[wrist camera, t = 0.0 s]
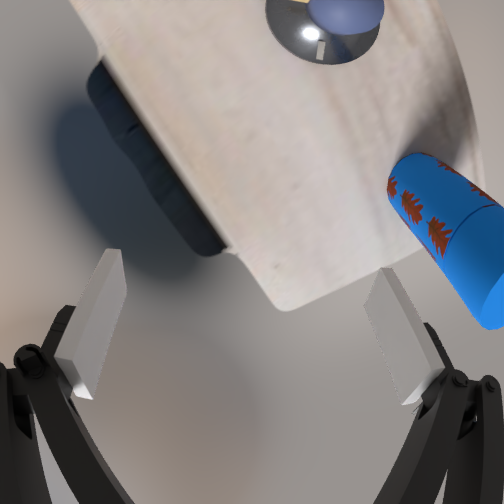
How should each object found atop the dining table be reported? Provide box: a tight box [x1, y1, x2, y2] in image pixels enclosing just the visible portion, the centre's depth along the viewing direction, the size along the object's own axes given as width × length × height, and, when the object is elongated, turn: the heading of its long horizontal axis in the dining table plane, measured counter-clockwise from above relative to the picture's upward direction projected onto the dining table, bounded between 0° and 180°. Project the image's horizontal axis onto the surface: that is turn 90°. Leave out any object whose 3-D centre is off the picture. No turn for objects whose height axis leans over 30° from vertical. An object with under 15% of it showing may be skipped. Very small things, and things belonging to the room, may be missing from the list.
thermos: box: [387, 153, 504, 330], centre depth 32 cm, size 11×11×25 cm
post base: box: [265, 0, 380, 65], centre depth 27 cm, size 14×14×6 cm
